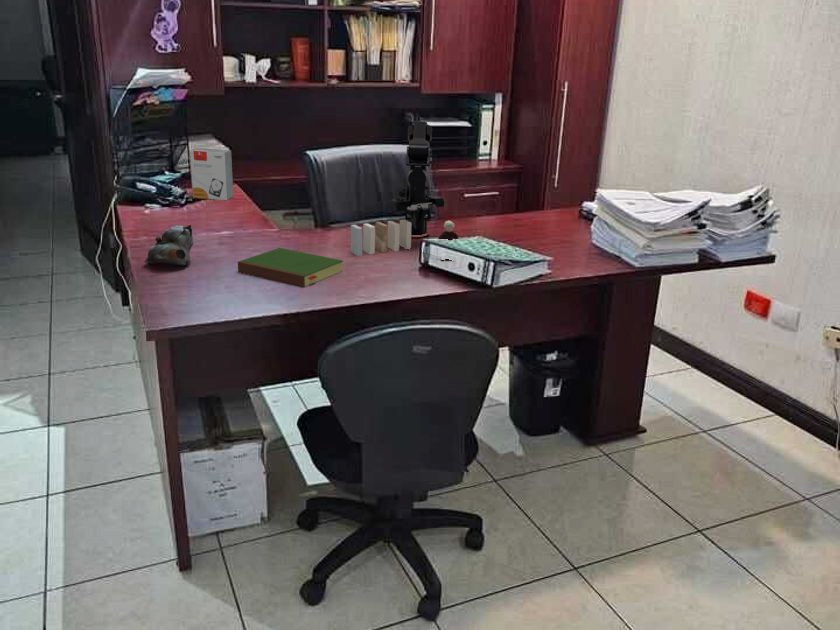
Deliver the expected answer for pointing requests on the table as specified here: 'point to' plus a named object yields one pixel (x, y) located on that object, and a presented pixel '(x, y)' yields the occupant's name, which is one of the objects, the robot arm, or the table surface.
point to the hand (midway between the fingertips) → (416, 228)
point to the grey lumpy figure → (172, 247)
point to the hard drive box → (211, 173)
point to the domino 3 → (381, 237)
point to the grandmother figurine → (448, 231)
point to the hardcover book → (290, 267)
